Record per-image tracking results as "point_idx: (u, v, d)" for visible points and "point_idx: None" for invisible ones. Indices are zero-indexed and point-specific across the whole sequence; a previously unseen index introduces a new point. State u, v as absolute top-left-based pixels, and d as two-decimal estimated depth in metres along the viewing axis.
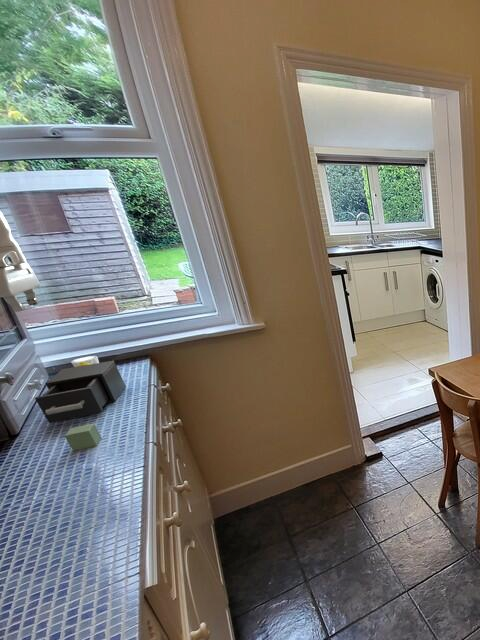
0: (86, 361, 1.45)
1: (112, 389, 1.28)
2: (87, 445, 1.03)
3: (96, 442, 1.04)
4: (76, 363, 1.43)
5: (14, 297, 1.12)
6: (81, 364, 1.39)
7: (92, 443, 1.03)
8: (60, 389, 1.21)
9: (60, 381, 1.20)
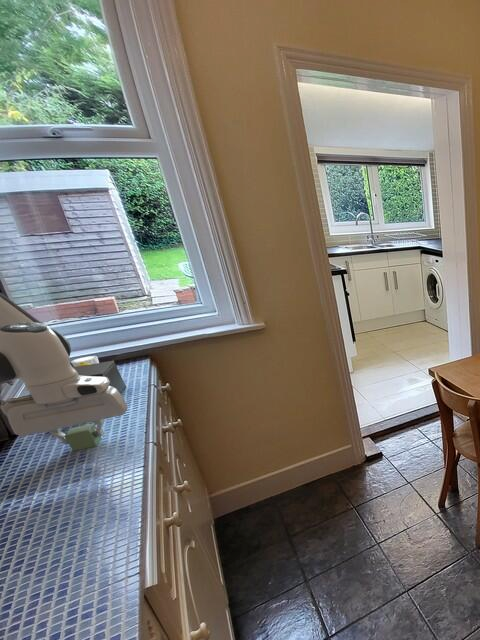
0: (86, 361, 1.45)
1: None
2: (87, 445, 1.03)
3: (96, 442, 1.04)
4: (76, 363, 1.43)
5: None
6: (81, 364, 1.39)
7: (92, 443, 1.03)
8: None
9: None
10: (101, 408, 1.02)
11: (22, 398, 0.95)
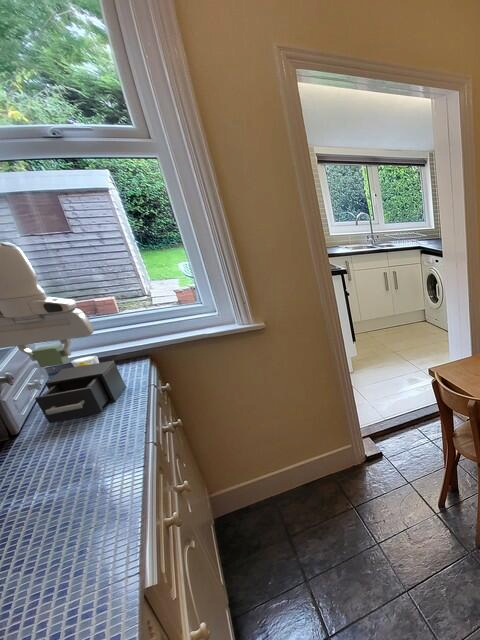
0: (86, 361, 1.45)
1: (112, 389, 1.28)
2: (54, 362, 1.09)
3: (63, 361, 1.10)
4: (76, 363, 1.43)
5: None
6: (81, 364, 1.39)
7: (59, 361, 1.10)
8: (60, 389, 1.21)
9: (60, 381, 1.20)
10: (67, 327, 1.09)
11: None
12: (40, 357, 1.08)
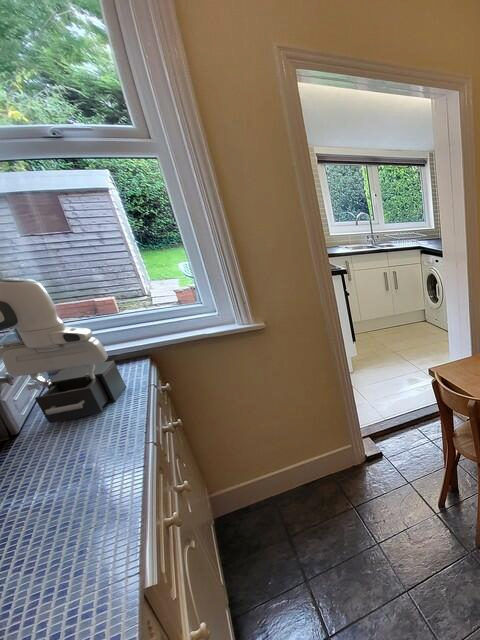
0: None
1: (112, 389, 1.28)
2: None
3: None
4: None
5: None
6: None
7: None
8: (60, 389, 1.21)
9: (60, 381, 1.20)
10: (84, 355, 1.17)
11: (15, 343, 1.10)
12: None
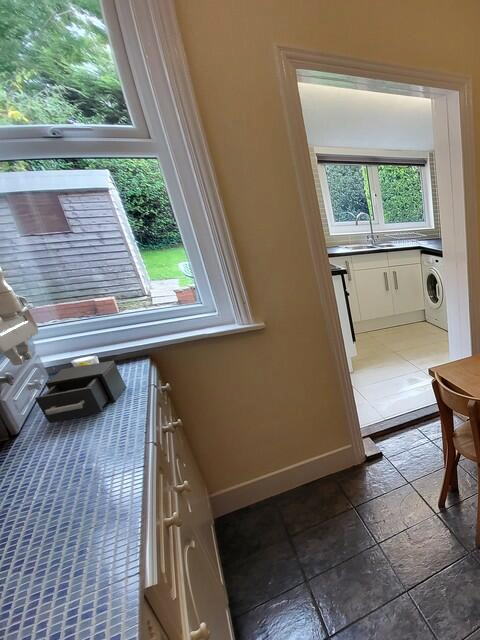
0: (86, 361, 1.45)
1: (112, 389, 1.28)
2: None
3: None
4: (76, 363, 1.43)
5: None
6: (81, 364, 1.39)
7: None
8: (60, 389, 1.21)
9: (60, 381, 1.20)
10: (28, 324, 1.03)
11: None
12: None
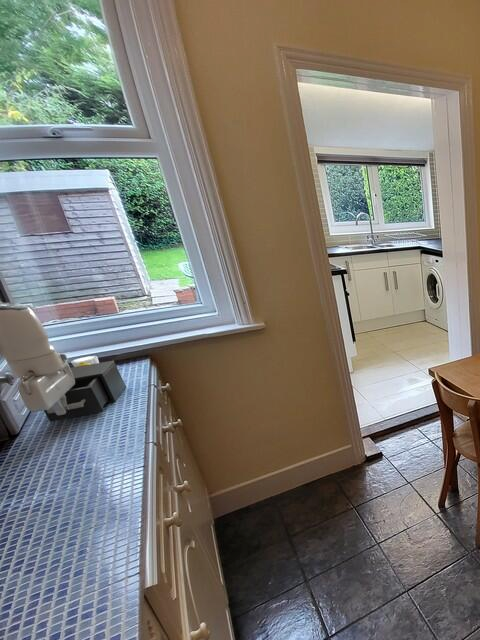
0: (86, 361, 1.45)
1: (112, 389, 1.28)
2: None
3: None
4: (76, 363, 1.43)
5: None
6: (81, 364, 1.39)
7: None
8: None
9: None
10: (67, 378, 1.14)
11: (30, 374, 1.01)
12: None
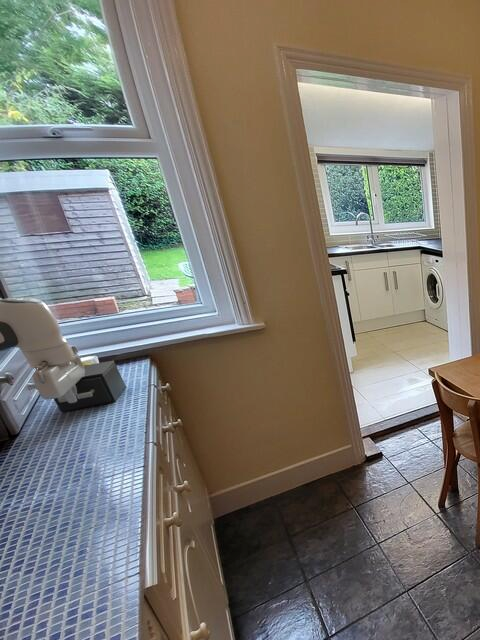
0: (86, 361, 1.45)
1: (112, 389, 1.28)
2: None
3: None
4: None
5: None
6: None
7: None
8: None
9: None
10: (77, 368, 1.21)
11: (44, 364, 1.08)
12: None
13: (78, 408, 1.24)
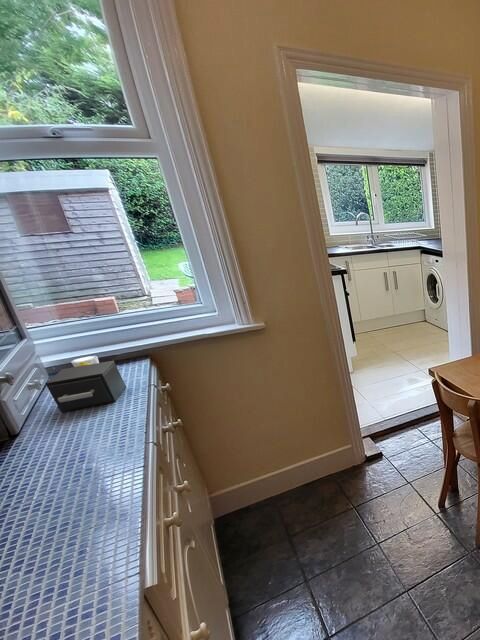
0: (86, 361, 1.45)
1: (112, 389, 1.28)
2: None
3: None
4: (76, 363, 1.43)
5: None
6: (81, 364, 1.39)
7: None
8: None
9: (60, 381, 1.20)
10: None
11: None
12: None
13: (78, 408, 1.24)
